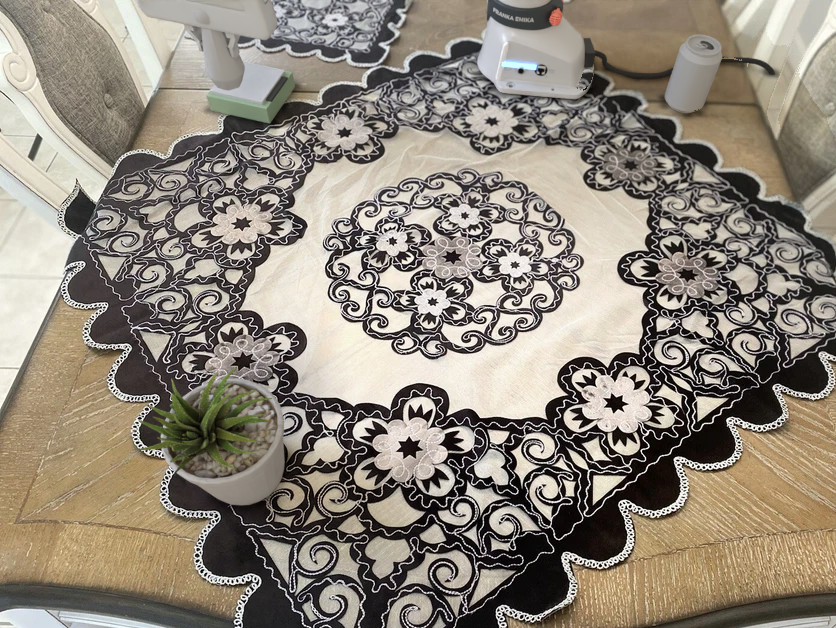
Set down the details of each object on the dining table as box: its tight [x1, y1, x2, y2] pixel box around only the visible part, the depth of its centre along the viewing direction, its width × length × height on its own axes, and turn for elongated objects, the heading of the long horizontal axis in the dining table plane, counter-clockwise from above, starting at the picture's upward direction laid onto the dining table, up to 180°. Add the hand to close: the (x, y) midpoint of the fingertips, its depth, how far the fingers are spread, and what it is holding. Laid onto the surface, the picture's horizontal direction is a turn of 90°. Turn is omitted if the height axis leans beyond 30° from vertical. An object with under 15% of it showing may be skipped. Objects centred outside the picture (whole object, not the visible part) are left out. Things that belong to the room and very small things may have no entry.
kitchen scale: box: [206, 60, 296, 124], centre depth 118 cm, size 11×11×4 cm
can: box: [664, 34, 723, 114], centre depth 122 cm, size 8×8×12 cm
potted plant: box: [138, 366, 286, 506], centre depth 73 cm, size 13×14×20 cm
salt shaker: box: [193, 9, 245, 91], centre depth 101 cm, size 6×6×13 cm
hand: (219, 52), depth 102 cm, fingers closed on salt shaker, 3 cm apart
